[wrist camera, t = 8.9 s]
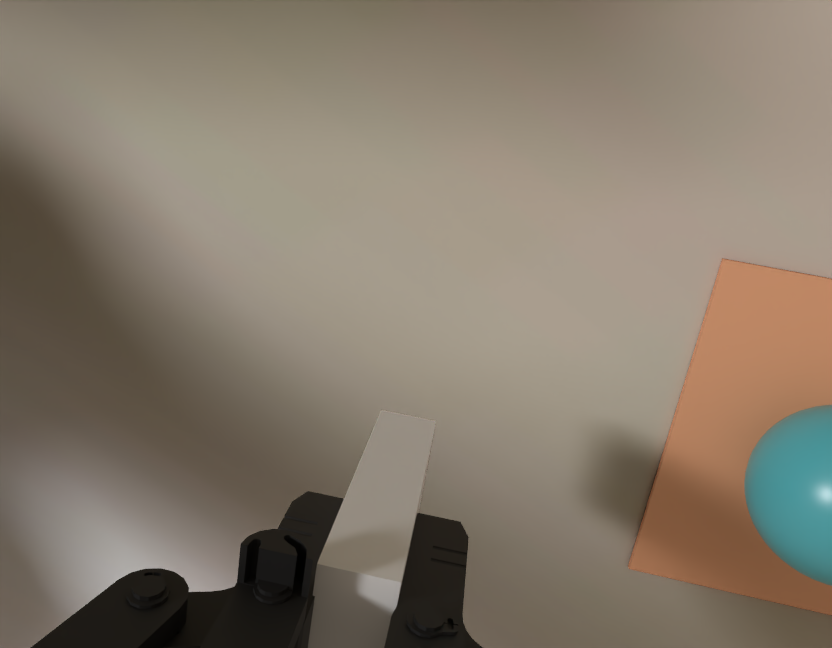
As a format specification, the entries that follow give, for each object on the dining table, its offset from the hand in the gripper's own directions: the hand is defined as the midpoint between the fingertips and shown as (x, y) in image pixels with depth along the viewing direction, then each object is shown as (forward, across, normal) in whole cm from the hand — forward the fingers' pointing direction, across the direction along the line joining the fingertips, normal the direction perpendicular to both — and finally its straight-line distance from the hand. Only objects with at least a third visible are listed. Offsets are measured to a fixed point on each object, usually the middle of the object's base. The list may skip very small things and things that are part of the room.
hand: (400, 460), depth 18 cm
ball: (+4, +13, 0) cm, 14 cm away
